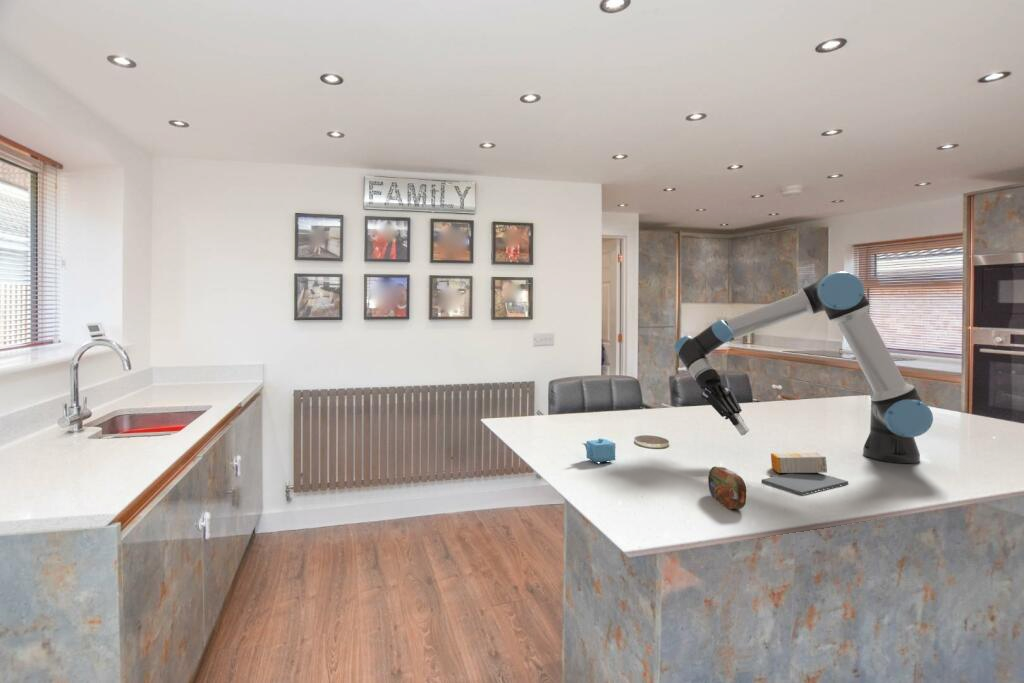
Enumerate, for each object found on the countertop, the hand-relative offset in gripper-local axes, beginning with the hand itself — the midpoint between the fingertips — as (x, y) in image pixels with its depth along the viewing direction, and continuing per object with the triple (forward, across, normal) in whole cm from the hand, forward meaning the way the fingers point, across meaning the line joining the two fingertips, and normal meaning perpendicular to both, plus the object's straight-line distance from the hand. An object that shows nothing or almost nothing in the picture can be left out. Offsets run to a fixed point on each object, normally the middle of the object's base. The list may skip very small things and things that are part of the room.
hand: (745, 432), depth 163 cm
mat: (+21, 0, +7) cm, 22 cm away
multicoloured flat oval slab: (+22, +32, +7) cm, 40 cm away
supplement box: (+12, -2, +1) cm, 12 cm away
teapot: (-10, +39, -24) cm, 47 cm away
